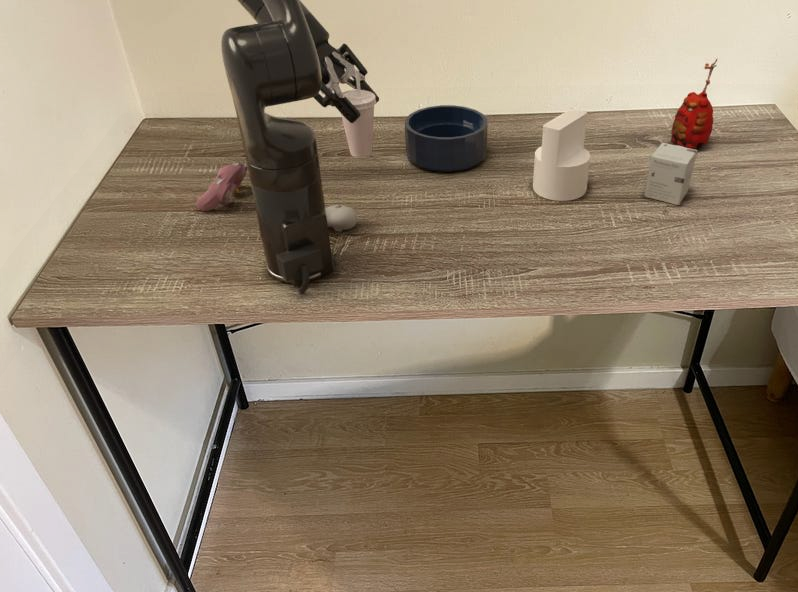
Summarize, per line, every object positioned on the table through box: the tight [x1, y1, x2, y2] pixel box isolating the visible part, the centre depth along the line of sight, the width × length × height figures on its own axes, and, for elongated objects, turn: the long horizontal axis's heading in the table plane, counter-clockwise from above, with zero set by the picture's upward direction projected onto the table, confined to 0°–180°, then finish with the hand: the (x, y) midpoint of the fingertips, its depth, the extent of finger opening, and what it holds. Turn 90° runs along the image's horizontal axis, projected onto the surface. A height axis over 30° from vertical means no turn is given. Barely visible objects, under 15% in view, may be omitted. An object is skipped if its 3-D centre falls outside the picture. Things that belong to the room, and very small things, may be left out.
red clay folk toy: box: [670, 58, 718, 150], centre depth 136 cm, size 8×7×15 cm
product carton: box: [643, 142, 698, 206], centre depth 124 cm, size 6×6×7 cm
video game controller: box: [195, 160, 248, 212], centre depth 123 cm, size 10×5×7 cm, turn 168°
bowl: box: [404, 104, 488, 173], centre depth 135 cm, size 14×14×6 cm
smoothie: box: [340, 68, 377, 159], centre depth 125 cm, size 6×6×14 cm
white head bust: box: [325, 204, 358, 233], centre depth 117 cm, size 4×8×5 cm
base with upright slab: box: [532, 107, 591, 202], centre depth 124 cm, size 9×9×12 cm
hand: (366, 111), depth 124 cm, fingers closed on smoothie, 6 cm apart
